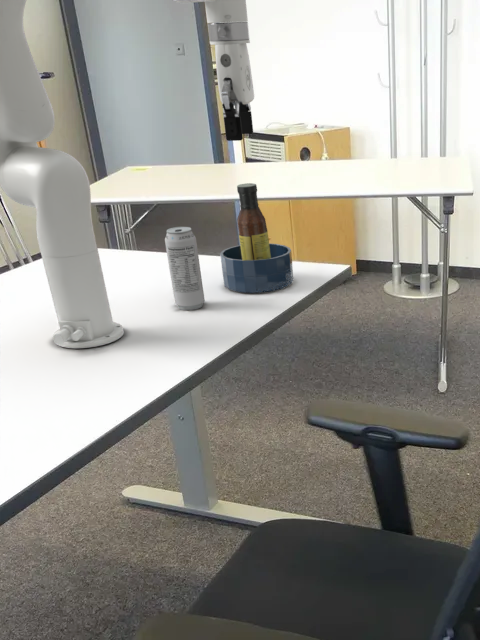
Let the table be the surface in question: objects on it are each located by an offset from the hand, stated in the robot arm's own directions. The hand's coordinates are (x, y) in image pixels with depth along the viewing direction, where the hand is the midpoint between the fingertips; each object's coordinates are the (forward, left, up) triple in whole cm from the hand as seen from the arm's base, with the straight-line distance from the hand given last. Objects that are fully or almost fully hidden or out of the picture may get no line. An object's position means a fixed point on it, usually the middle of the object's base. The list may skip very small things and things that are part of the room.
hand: (240, 137), depth 153 cm
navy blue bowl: (0, -1, -29) cm, 29 cm away
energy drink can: (-16, +10, -29) cm, 35 cm away
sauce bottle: (0, -1, -29) cm, 29 cm away
